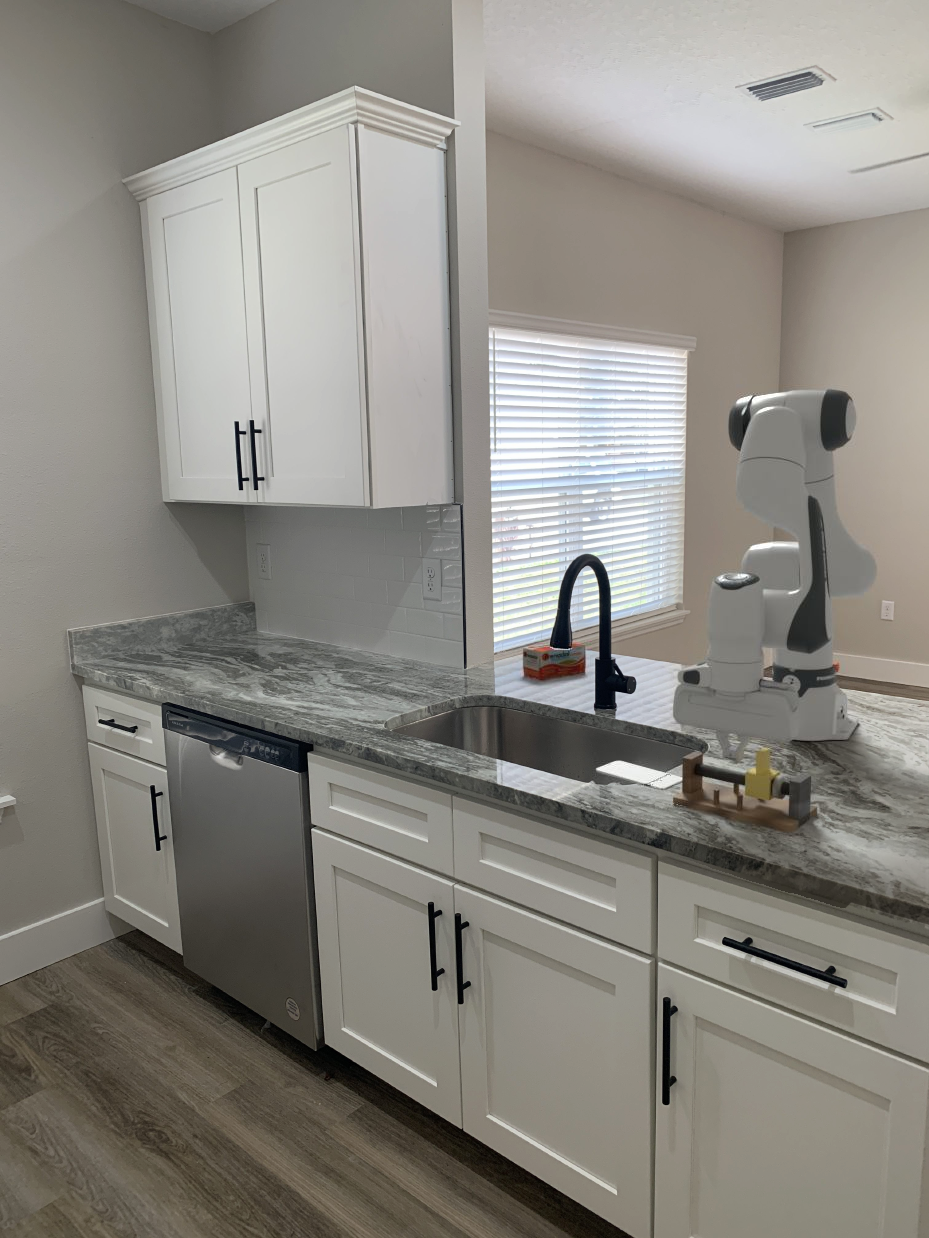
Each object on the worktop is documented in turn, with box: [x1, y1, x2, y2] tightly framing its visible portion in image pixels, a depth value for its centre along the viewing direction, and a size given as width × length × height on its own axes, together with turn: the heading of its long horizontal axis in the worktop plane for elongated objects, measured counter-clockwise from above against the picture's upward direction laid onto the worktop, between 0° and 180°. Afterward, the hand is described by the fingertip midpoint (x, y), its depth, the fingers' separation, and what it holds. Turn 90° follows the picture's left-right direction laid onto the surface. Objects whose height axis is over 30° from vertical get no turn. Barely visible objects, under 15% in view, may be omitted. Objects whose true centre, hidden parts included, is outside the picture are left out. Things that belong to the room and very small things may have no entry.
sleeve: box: [744, 746, 781, 801], centre depth 149 cm, size 4×4×7 cm
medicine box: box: [522, 641, 587, 682], centre depth 250 cm, size 15×8×8 cm, turn 121°
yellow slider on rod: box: [672, 751, 818, 834], centre depth 152 cm, size 20×10×7 cm, turn 48°
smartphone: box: [595, 760, 682, 789], centre depth 170 cm, size 7×1×15 cm
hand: (732, 758), depth 152 cm, fingers closed
